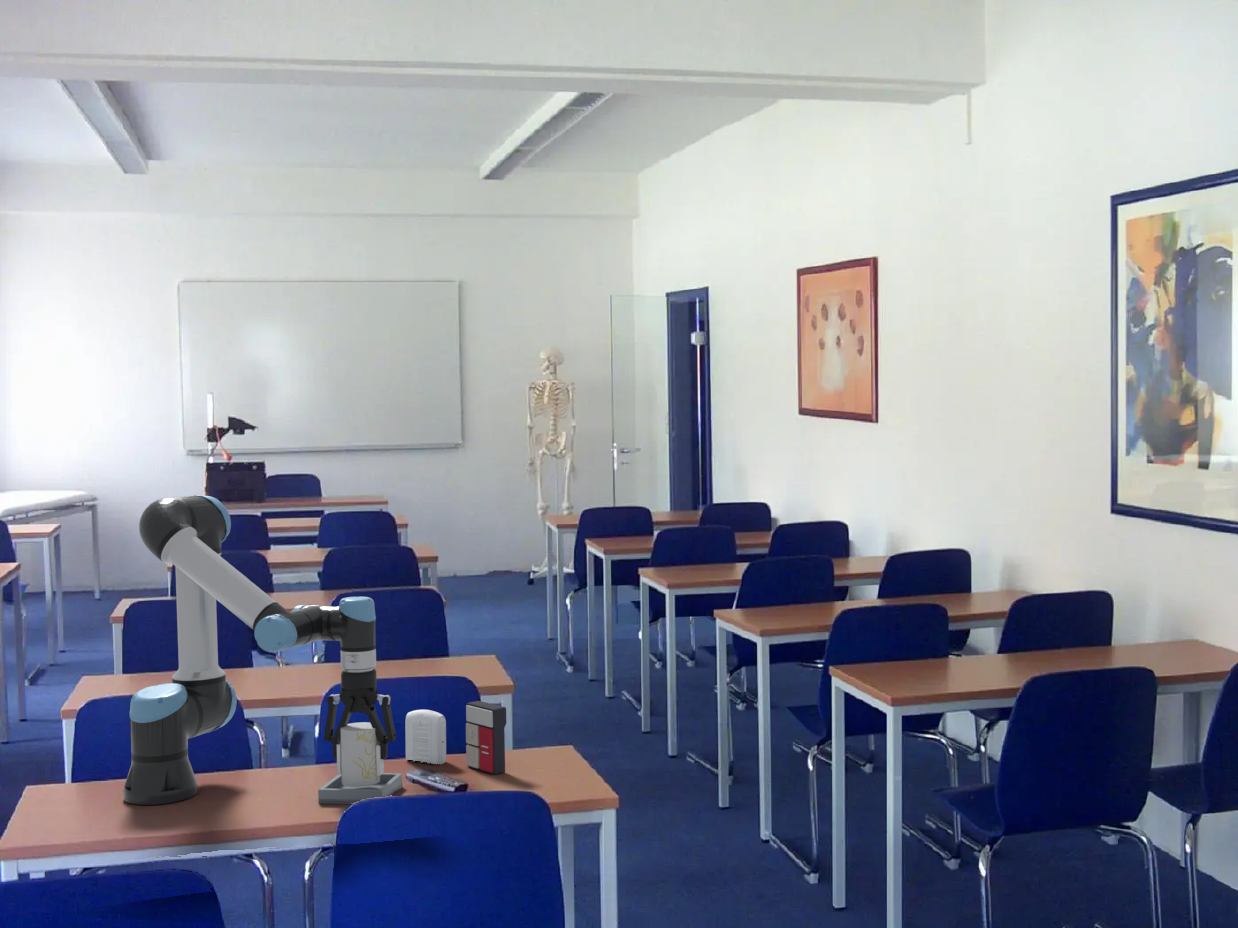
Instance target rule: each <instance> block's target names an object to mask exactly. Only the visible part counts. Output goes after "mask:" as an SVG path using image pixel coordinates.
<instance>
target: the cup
mask: <svg viewBox="0 0 1238 928" xmlns="http://www.w3.org/2000/svg"><path fill="white" fill-rule="evenodd" d="M340 742H341V775H342V784H343V785H345V786H350V787H363V786H370V785H374V784H377V783H378V782H380V776H377V769H376V745H378V744H379V741H378V739H377V737H376V734H375V728H372V725H371V723H370V721H369V722H367V721H365V722H364V721H363V722H350V723H348V724H347V725H346V726H345V727H343V728H341V741H340Z"/></svg>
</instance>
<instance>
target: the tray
mask: <svg viewBox="0 0 1238 928" xmlns="http://www.w3.org/2000/svg"><path fill="white" fill-rule="evenodd" d="M402 788H403V773H398V772H397V773H394V772H392V773H391V772H384V773H383V774H381V775H380V782H378V783H377V784H374V785H370V786H363V787H350V786H345V785H343V784H342V775H337V774H336V776H334V777H333V778H332V779H330V780H329V781H328V782H326V783H325V784H323V786H321V787H320V788H319V789H317V790H318V792H317V793H318V804H321V805H323V804H324V805H352V804H351V803H354V802H357V801H360V800H362V799H367V798H374V797H385V796H390V795H393V796H394V795H395V794H396V793H398V792H399V790H401V789H402Z"/></svg>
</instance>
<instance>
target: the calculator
mask: <svg viewBox="0 0 1238 928" xmlns="http://www.w3.org/2000/svg"><path fill="white" fill-rule="evenodd" d="M465 718H466V719H465V720H466V723H465V743H466V745H465V748H466V749H465V750H466V751H465V752H466V753H465V754H466V755H465V759H466V760H465V761H466V762H465V763H466V765H467V767H469V768H472V769H476V770H478V771H482V772H485V773H488V774H491V775H495V776H496V775H499V774H502V773H505V772H506V749H505V748H506V747H505V745H506V743H505V742H506V741H505V738H506V737H505V735H506V734H505V728H506V725H507V708H506V706H503V705H498V704H493V703H489V702H486V701H480V700H476V701H470V702H467V703H466V704H465Z"/></svg>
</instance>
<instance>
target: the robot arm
mask: <svg viewBox="0 0 1238 928" xmlns="http://www.w3.org/2000/svg"><path fill="white" fill-rule="evenodd" d="M231 522H232V520H231V516H230V513H229V511H228V509H227V507H226V506H225V505H224V504H223V503H222V502H221V501H220V500H219V499H218V498H216V497H213V496H210V495H201V494H200V495H198V494H196V495H195V494H194V495H188V496H187V495H185V496H177V497H164V498H160V499H159V498H158V499H157V500H155V501H153V502H151V503H149V505H148V506H147V507H146V508H145V509H144V511H143V512H142V514H141V517H140V519H139V526H138V528H139V529H138V530H139V535H140V538H141V540H142V542H143V545H145V547H146V548H147V549H148V550H149V551H150V552H151V553H152V555H154V557H156V558H157V559H158V560H160V561H161V562H162V563H163V564H165V565H169V566H170V565H173V566H174V567H175V591H176V592H175V593H176V620H177V621H176V622H177V623H176V625H177V648H178V649H177V651H178V653H177V654H178V655H177V656H178V669H177V671H176V672H175V673H173V675H172V676H171V681H172V682H171V683H161V684H160V683H159V684H158V685H150V686H146V687H144V688H142V689H140V690H138V691H137V692H135V693H134V694H132V697H131V699H130V708H129V709H130V710H129V713H128V714H129V719H130V720H129V723H130V727H129V728H130V748H131V749H130V750H131V762H130V763H131V764H130V767H129V771H128V774H127V777H126V781H125V784H124V787H123V801H125V803H129V804H131V805H141V806H151V805H153V806H154V805H164V804H171V803H177V802H180V801H184V800H187V799H190V798H192V797H194V796H196V794H197V793H198V782H197V778H196V776H195V773H194V770H193V767H192V764H191V762H190V760H189V751H188V750H189V744H188V743H189V742H188V740H189V739H192V738H195V737H199V736H201V735H204V734H209V733H211V732H214V731H217V730H218V729H219V728H222V727H223V726H225V725H227V724H228V723H229V721H230V720H232V718H233V716H234V714H235V712H236V709H237V699H238V698H237V693H236V691H235V688H234V687H232V683H231V682H230V681H229V680H227V679H226V671H225V670H224V669H222V668H221V667H220V665H219V651H218V649H219V648H218V621H217V619H218V618H217V617H218V616H217V613H218V612H217V602H219V603H220V604H221V605H223V606H224V607H225V608H226V609H227V610H228V611H230V612H231V613H232V614H233V615H235V616H236V617H237V618H238V619H239V620H241V621H242V622H243V623H245V625H247V626H248V627H249V628H250V629H252V631H254V639H255V641H256V643H257V646H258V647H259V648H261V649H262V650H263V651H265V652H267V653H268V652H269V653H275V652H276V653H277V652H284V651H287V650H290V649H292V648H296V647H299V646H303V645H306V644H310V643H313V642H317V641H318V642H319V641H331V642H333V641H335V642H339V643H340V668H341V669H343V670H341V672H340V685H341V686H340V687H341V690H340V692H339V693H337V694H335V693H332V694H330V695H328V696H327V697H326V701H327V705H328V707H327V712H326V713H327V714H326V720H325V726H324V727H325V728H324V733H323V741H325V742H329V743H331V744H332V757H333V759H336V773H337V774H336V776H337V775H341V728H343V727H345V726H346V725H347V724H349V721H350V719H351V717H352V714H355V713H360V714H365V716H366V718H368V721H369V722H370V723H371V725H372V728H375V734H376V737H377V739H378V741H379V744H378V745H376V769H377V776H380V775H381V774H383V773H385V766H384V765H385V761H384V760H386V759H387V758H388V756H389V747H388V745H389V743H392V742H393V741H395V740H396V739H397V733H396V729H395V723H394V720H393V713H392V706H391V701H392V695H390V694H386V695H384V694H379V692H378V690H377V687H378V686H377V682H378V681H377V670H376V667H377V649H376V648H377V647H376V619H377V616H376V609H375V601H374V599H372V597H368V596H348V597H343V598H341V599H340V601H339V604H338V605H337V606H335V605H315V604H310V603H309V604H299V605H296V606H294V607H293V609H292V610H290V611H289V610H287V609H286V608H285V607H284V606H283V605H281V604H280V603H279V602H277V601H276V600H275V599H273V598H272V597H271V596H270V595H269V594H267V593H266V592H265V591H264V590H262V589H261V588H260V587H259V586H257V585H256V583H254V582H252V581H251V580H250V579H249V578H248V577H247V576H246V575H244V574H243V573H242V572H241V571H239V570H238V569H236V567H235V566H233V565H232V564H230V563H229V562H228V560H226V559H224V558H223V557H222V556H221V555H222V543H223V542H225V540H226V539H227V538H228V536H229V534H230V532H231V527H232V523H231ZM340 701H341V702H342V703H343V705H344V709H343V711H342V713H341V714H342V715H341V718H340V720H339V722H338V724H337V728H336V729H335V724H336V718H337V712H338V705H339V703H340ZM377 701H378V704H379V706H381V714H382V718H383V724H384V726H383V725H382V723H381V720H380V718H379V715H378V713H377V709H376V707H375V704H376V702H377ZM384 728H385V729H384Z"/></svg>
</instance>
